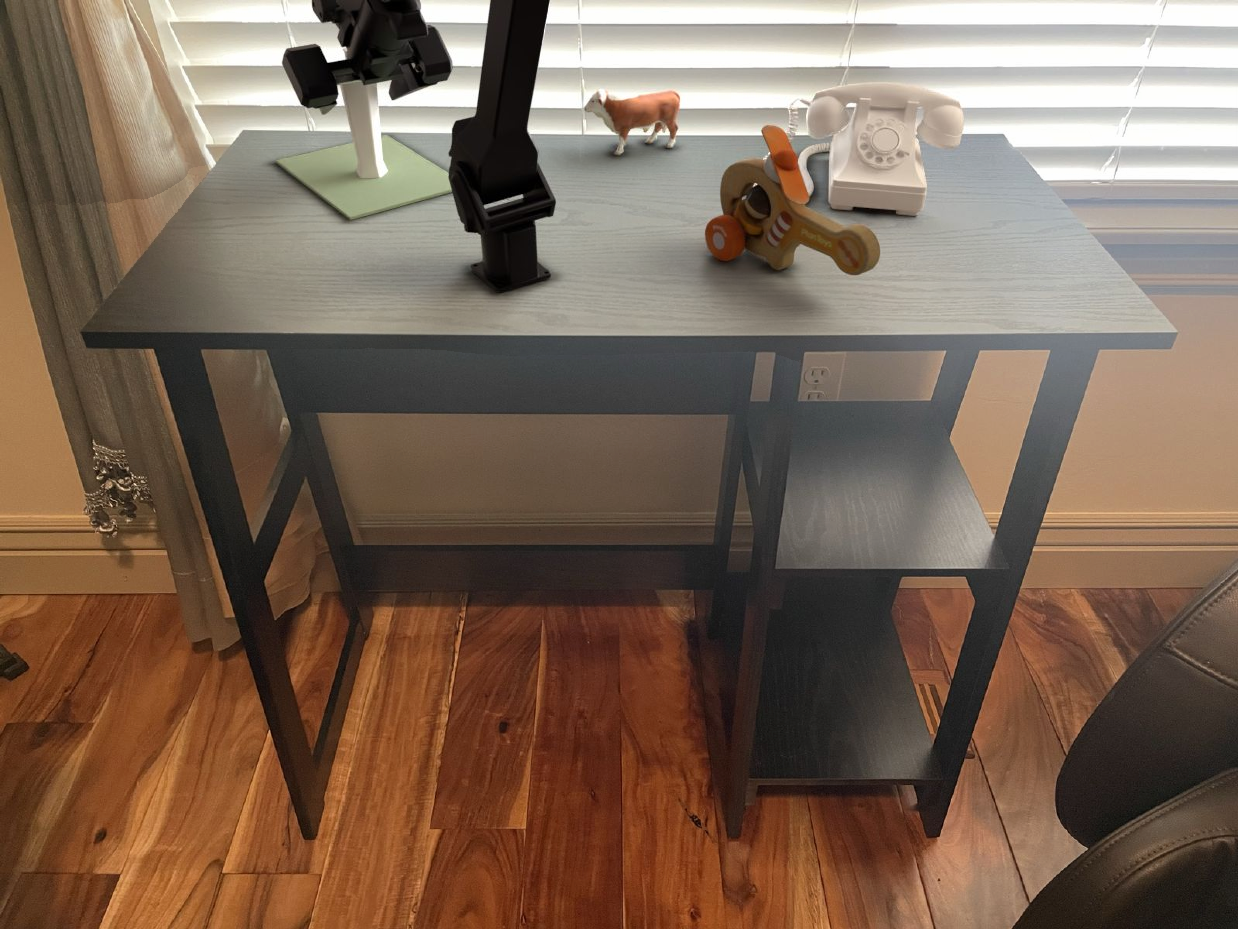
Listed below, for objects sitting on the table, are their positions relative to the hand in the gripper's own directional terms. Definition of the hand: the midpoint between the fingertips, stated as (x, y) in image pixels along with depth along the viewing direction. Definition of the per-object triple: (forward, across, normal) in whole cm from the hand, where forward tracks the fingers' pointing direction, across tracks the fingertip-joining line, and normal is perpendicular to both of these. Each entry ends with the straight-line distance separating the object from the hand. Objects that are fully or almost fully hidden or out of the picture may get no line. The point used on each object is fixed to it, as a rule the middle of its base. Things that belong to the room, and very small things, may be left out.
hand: (357, 103), depth 114 cm
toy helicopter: (-29, -24, +42) cm, 57 cm away
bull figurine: (-2, -33, +15) cm, 37 cm away
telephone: (-20, -49, +33) cm, 63 cm away
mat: (+6, 0, +7) cm, 9 cm away
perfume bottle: (+6, 0, +7) cm, 9 cm away
